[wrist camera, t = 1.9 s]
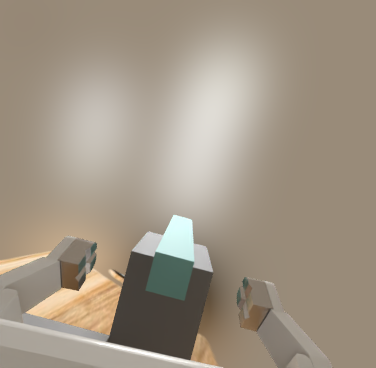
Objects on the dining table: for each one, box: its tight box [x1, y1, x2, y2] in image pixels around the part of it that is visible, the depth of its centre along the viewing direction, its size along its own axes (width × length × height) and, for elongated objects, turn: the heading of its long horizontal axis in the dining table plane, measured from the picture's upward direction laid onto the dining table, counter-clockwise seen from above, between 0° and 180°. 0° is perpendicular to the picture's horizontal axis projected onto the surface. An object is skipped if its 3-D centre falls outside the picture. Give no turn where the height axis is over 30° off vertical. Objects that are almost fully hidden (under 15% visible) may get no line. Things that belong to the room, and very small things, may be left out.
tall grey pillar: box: [22, 232, 213, 360], centre depth 29 cm, size 26×25×29 cm
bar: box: [145, 215, 194, 301], centre depth 33 cm, size 24×4×4 cm, turn 179°
